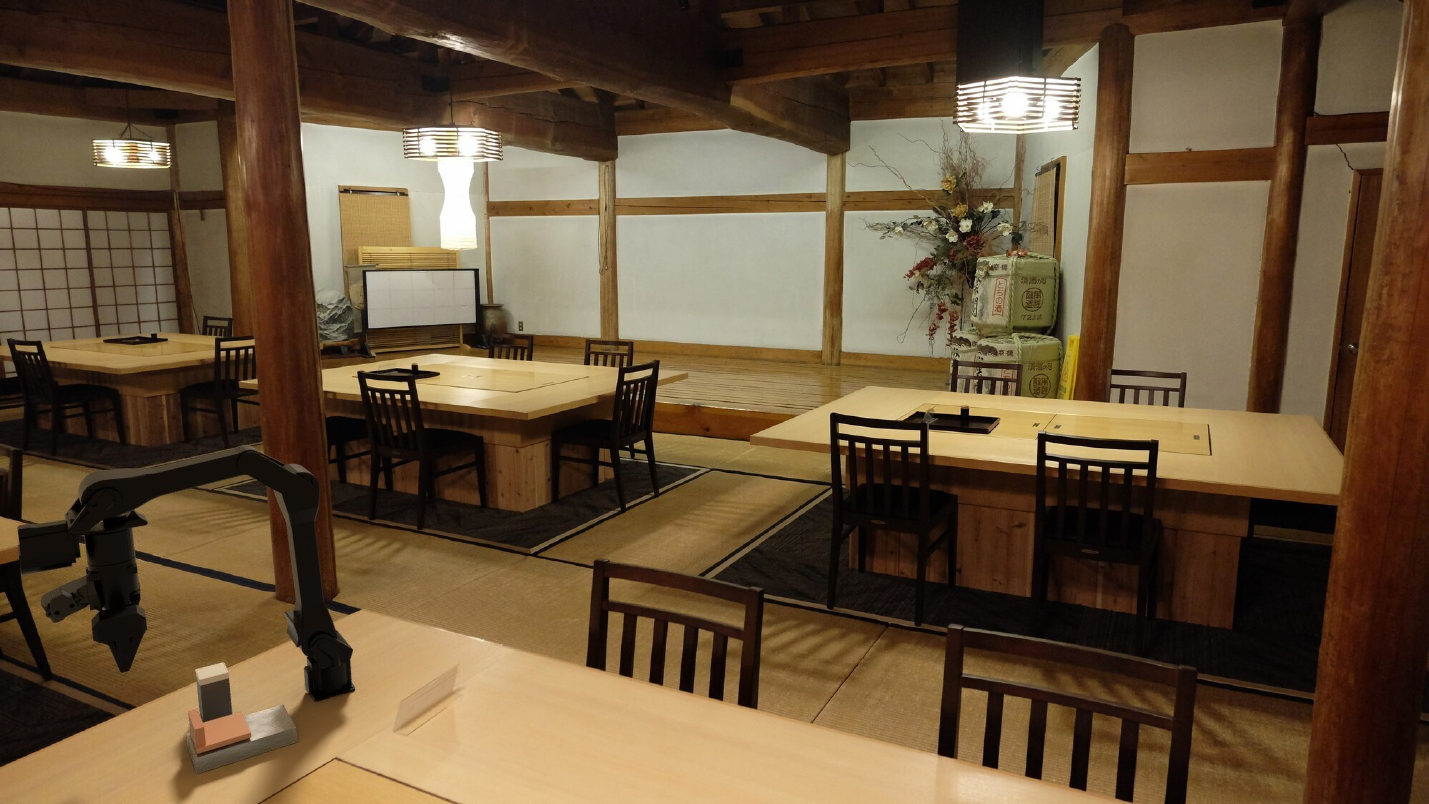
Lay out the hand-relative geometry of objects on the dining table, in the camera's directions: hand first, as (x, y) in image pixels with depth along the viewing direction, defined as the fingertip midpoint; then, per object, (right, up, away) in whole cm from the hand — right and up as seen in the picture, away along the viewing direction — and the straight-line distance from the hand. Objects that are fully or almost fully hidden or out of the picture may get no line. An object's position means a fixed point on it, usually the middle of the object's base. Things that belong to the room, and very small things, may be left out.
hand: (123, 658), depth 127 cm
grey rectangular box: (+16, -14, +4) cm, 22 cm away
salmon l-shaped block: (+13, -12, +2) cm, 18 cm away
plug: (+7, -13, +11) cm, 18 cm away
